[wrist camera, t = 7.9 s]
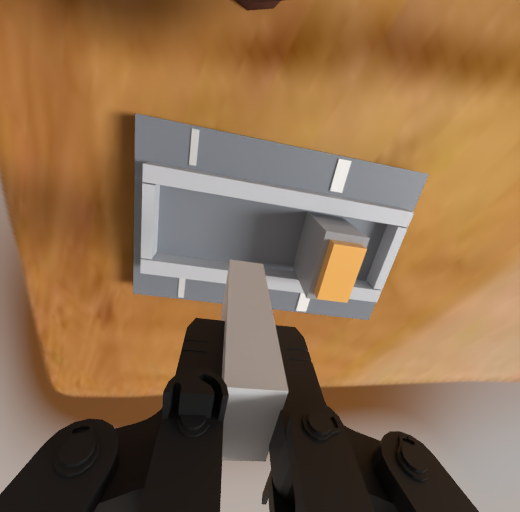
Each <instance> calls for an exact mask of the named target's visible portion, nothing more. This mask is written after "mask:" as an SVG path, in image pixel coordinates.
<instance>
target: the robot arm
mask: <svg viewBox="0 0 520 512" xmlns="http://www.w3.org/2000/svg"><path fill="white" fill-rule="evenodd" d="M268 452H270V462H271V471H270V474H269V477H268V480H267V483H266V486H265V488H264V491H263V496H262V504H266V503H267V500H268V498H269V510H270V512H479V511H478V510H477V509H476V507H475V506H474V505H473V504H472V502H471V501H470V500H469V499H468V498H467V496H466V495H465V494H464V493H463V491H462V490H461V489H460V488H459V486H458V485H457V484H456V482H455V481H454V480H453V479H452V477H451V476H450V475H449V474H448V473H447V471H446V470H445V469H444V467H443V466H442V465H441V464H440V462H439V461H438V460H437V459H436V457H435V456H434V455H433V454H432V453H431V452H430V451H429V450H428V449H427V448H426V447H425V446H424V444H423V443H421V442H420V441H418V440H416V439H415V438H414V437H412V436H411V435H408V434H405V433H402V432H389V433H387V434H386V435H384V436H383V438H382V440H381V441H379V440H376V439H374V438H371V437H368V436H366V435H363V434H360V433H358V432H355V431H353V430H351V429H349V428H347V427H346V426H344V425H343V423H342V422H341V420H340V418H339V416H338V415H337V414H335V412H334V411H333V410H332V409H331V408H330V407H327V405H326V403H325V401H324V398H323V395H322V392H321V389H320V385H319V382H318V379H317V376H316V373H315V370H314V367H313V364H312V362H311V358H310V355H309V352H308V349H307V345H306V342H305V339H304V337H303V336H302V335H301V334H300V332H299V331H298V330H297V329H296V328H295V327H288V326H278V325H275V321H274V316H273V311H272V306H271V301H270V296H269V291H268V286H267V281H266V276H265V271H264V266H263V264H260V263H252V262H245V261H238V260H230V262H229V268H228V274H227V281H226V287H225V293H224V299H223V305H222V313H221V321H220V320H210V319H200V318H195V320H194V321H193V322H192V323H191V324H190V325H189V326H188V327H187V330H186V334H185V339H184V343H183V347H182V351H181V355H180V359H179V363H178V367H177V371H176V375H175V376H174V377H173V378H172V379H171V380H170V381H169V382H168V384H167V386H166V388H165V390H164V392H163V407H162V409H161V410H160V411H159V412H157V413H156V414H155V415H153V416H152V417H150V418H148V419H147V420H144V421H141V422H138V423H136V424H132V425H128V426H124V427H120V428H116V429H114V427H113V426H112V425H111V424H109V423H107V422H105V421H103V420H99V419H86V420H82V421H78V422H74V423H73V424H70V425H68V426H67V427H65V428H63V429H61V430H59V431H58V432H57V433H56V434H55V435H53V436H52V437H51V438H50V439H49V440H48V441H47V442H46V443H45V444H44V445H43V446H42V447H41V448H40V449H39V450H38V452H37V453H36V454H35V455H34V456H33V457H32V459H31V460H30V461H29V462H28V463H27V464H26V465H25V467H24V468H23V469H22V470H21V471H20V472H19V473H18V475H17V476H16V477H15V478H14V479H13V480H12V482H11V483H10V484H9V485H8V486H7V487H6V488H5V490H4V491H3V492H2V493H1V494H0V512H220V496H221V495H220V494H221V471H222V460H232V461H266V458H267V455H268Z"/></svg>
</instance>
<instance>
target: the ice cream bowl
mask: <svg viewBox="0 0 520 512" xmlns="http://www.w3.org/2000/svg"><path fill="white" fill-rule="evenodd" d="M236 1H237V2H238V3H239V4H241V5H242V6H243V7H244V8H246V9H247V10H257V9H270V8H274V7H275V6H276V5H277V4H278V3H279V2H280V1H281V0H236Z"/></svg>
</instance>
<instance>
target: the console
mask: <svg viewBox="0 0 520 512" xmlns="http://www.w3.org/2000/svg"><path fill="white" fill-rule="evenodd" d="M428 175H429V174H426V173H421V172H416V171H411V170H406V169H401V168H397V167H392V166H387V165H382V164H377V163H372V162H368V161H363V160H358V159H353V158H348V157H343V156H339V155H334V154H329V153H324V152H319V151H314V150H310V149H305V148H300V147H295V146H290V145H285V144H281V143H276V142H271V141H266V140H261V139H256V138H252V137H247V136H242V135H237V134H232V133H227V132H223V131H218V130H213V129H208V128H203V127H198V126H194V125H189V124H184V123H179V122H174V121H170V120H165V119H160V118H155V117H150V116H145V115H141V114H136V113H135V167H134V257H133V294H142V295H151V296H159V297H168V298H177V299H186V300H195V301H204V302H213V303H222V304H223V299H224V293H225V287H226V281H227V274H228V268H229V262H230V260H238V261H245V262H252V263H260V264H263V266H264V271H265V276H266V281H267V286H268V291H269V296H270V301H271V306H272V309H275V310H284V311H293V312H302V313H311V314H320V315H328V316H337V317H346V318H355V319H364V320H369V318H370V315H371V313H372V311H373V308H374V306H375V303H376V302H377V301H378V299H379V296H380V294H381V290H382V289H383V286H384V284H385V282H386V279H387V277H388V274H389V272H390V270H391V267H392V265H393V262H394V260H395V257H396V255H397V253H398V250H399V248H400V245H401V243H402V241H403V238H404V236H405V233H406V231H407V227H408V226H409V224H410V221H411V219H412V216H413V214H414V212H413V211H414V209H415V206H416V204H417V201H418V199H419V197H420V194H421V192H422V189H423V187H424V185H425V182H426V180H427V177H428ZM307 211H308V212H314V213H320V214H325V215H331V216H337V217H342V218H344V219H345V220H346V221H348V222H349V223H350V224H352V225H353V226H354V227H356V228H357V229H359V230H360V231H361V232H363V233H364V234H365V235H367V236H368V237H369V238H370V240H369V242H368V245H367V251H366V254H365V257H364V259H363V262H362V265H361V267H360V270H359V273H358V276H357V278H356V281H355V284H354V287H353V289H352V292H351V295H350V298H349V300H348V303H342V302H333V301H325V300H317V299H309V298H306V296H305V294H304V291H303V289H302V287H301V285H300V282H299V280H298V278H297V276H296V273H295V271H294V269H293V264H294V260H295V257H296V253H297V249H298V245H299V241H300V237H301V234H302V230H303V226H304V222H305V218H306V214H307Z"/></svg>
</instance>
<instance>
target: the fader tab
mask: <svg viewBox="0 0 520 512" xmlns="http://www.w3.org/2000/svg"><path fill="white" fill-rule="evenodd" d="M369 240H370V238H369V237H368V236H367V235H365V234H364V233H363V232H361V231H360V230H359V229H357V228H356V227H354V226H353V225H352V224H350V223H349V222H348V221H346V220H345V219H344V218H342V217H337V216H331V215H325V214H320V213H314V212H308V211H307V214H306V218H305V222H304V226H303V230H302V234H301V237H300V241H299V245H298V249H297V253H296V257H295V260H294V264H293V269H294V271H295V273H296V276H297V278H298V280H299V282H300V285H301V287H302V289H303V291H304V294H305V296H306V298H309V299H317V300H325V301H333V302H342V303H348V300H349V298H350V295H351V292H352V289H353V287H354V284H355V281H356V278H357V276H358V273H359V270H360V267H361V265H362V262H363V259H364V257H365V254H366V251H367V245H368V242H369Z"/></svg>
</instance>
